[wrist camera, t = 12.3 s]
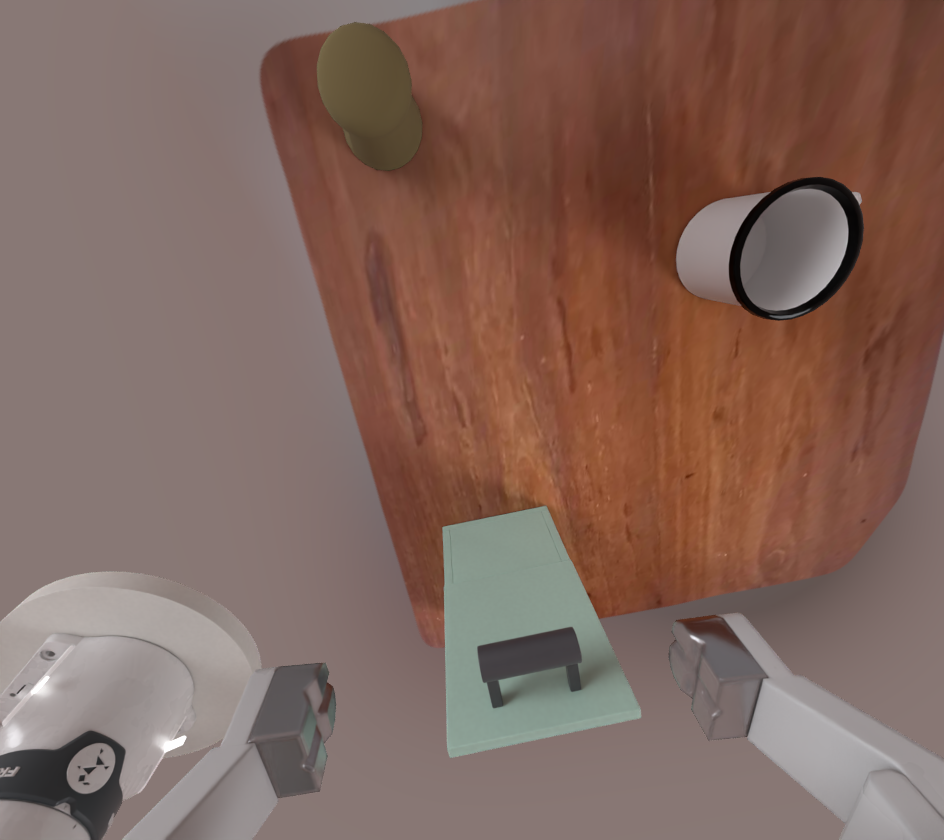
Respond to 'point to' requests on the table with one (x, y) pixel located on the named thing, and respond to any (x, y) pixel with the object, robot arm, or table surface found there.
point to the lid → (528, 661)
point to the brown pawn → (370, 95)
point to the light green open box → (501, 545)
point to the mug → (774, 248)
